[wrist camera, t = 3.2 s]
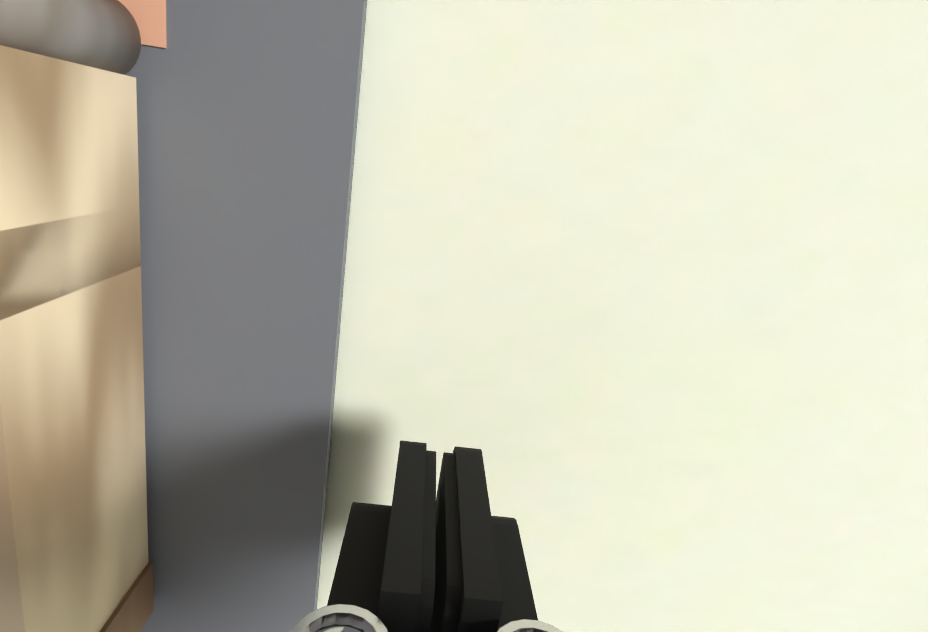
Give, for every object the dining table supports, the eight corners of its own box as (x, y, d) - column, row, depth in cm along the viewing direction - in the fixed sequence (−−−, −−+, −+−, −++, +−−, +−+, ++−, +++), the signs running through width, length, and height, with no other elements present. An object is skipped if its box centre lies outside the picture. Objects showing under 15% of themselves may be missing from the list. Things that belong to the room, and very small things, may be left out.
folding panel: (56, -16, 9) (-310, -174, 5) (140, -2, 10) (-139, -143, 5) (93, 605, 13) (-91, 847, 9) (153, 610, 13) (3, 851, 9)
